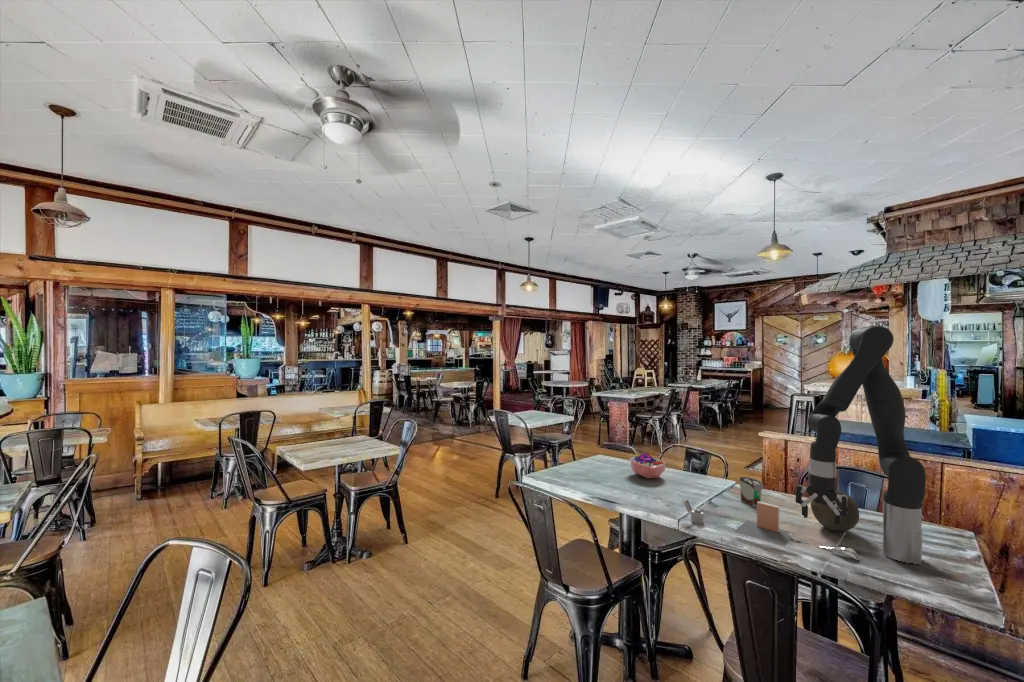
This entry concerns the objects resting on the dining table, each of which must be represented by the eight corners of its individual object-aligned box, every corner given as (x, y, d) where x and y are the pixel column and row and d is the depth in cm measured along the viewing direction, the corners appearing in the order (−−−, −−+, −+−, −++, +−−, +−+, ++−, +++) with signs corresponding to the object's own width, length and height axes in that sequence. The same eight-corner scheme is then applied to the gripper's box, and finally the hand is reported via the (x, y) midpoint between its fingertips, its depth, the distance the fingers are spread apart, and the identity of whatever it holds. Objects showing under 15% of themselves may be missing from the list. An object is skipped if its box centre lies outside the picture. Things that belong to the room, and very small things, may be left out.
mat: (795, 534, 156) (795, 533, 156) (784, 547, 146) (784, 546, 146) (747, 521, 167) (747, 519, 167) (734, 532, 157) (734, 530, 157)
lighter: (703, 523, 165) (703, 502, 165) (702, 525, 163) (702, 504, 163) (684, 519, 169) (684, 498, 169) (683, 520, 168) (683, 499, 168)
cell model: (635, 483, 212) (635, 459, 212) (626, 470, 232) (626, 449, 232) (670, 483, 211) (670, 460, 211) (658, 471, 231) (658, 449, 231)
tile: (779, 531, 157) (779, 506, 157) (778, 532, 156) (778, 507, 156) (758, 525, 162) (758, 501, 162) (756, 526, 161) (756, 502, 161)
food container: (769, 509, 178) (769, 485, 178) (754, 509, 178) (755, 485, 178) (752, 498, 191) (753, 476, 191) (739, 498, 191) (739, 476, 191)
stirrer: (786, 529, 151) (791, 525, 154) (785, 539, 151) (790, 535, 154) (858, 554, 136) (861, 549, 139) (857, 565, 136) (860, 560, 139)
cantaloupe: (816, 519, 169) (816, 481, 169) (862, 531, 158) (862, 490, 158) (806, 530, 159) (806, 489, 159) (854, 543, 149) (854, 500, 149)
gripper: (850, 476, 143) (849, 525, 143) (800, 466, 153) (798, 511, 153) (846, 481, 137) (844, 531, 138) (794, 470, 148) (792, 517, 148)
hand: (820, 521), depth 145 cm, fingers open, 8 cm apart
